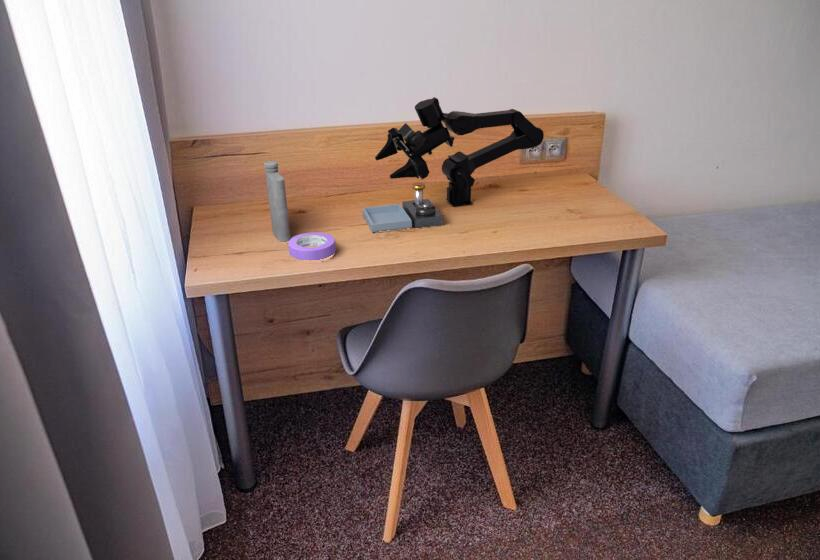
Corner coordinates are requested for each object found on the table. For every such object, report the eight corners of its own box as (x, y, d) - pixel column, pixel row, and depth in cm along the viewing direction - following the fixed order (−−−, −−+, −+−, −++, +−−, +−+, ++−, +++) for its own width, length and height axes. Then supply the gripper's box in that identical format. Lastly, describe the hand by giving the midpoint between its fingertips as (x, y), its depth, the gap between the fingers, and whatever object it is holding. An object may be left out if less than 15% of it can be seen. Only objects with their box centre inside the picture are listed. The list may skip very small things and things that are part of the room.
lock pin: (422, 211, 186) (422, 182, 182) (426, 215, 183) (426, 186, 179) (411, 212, 185) (411, 183, 181) (414, 216, 182) (414, 187, 178)
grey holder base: (428, 208, 188) (428, 191, 186) (442, 225, 176) (442, 207, 174) (402, 211, 186) (402, 193, 184) (415, 228, 174) (415, 210, 172)
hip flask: (291, 243, 167) (283, 170, 157) (276, 245, 166) (267, 172, 156) (283, 221, 180) (275, 153, 171) (269, 223, 179) (260, 154, 170)
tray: (400, 211, 186) (399, 203, 185) (411, 228, 175) (411, 220, 173) (362, 215, 183) (362, 207, 182) (372, 233, 172) (371, 224, 171)
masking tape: (292, 245, 166) (290, 232, 164) (336, 244, 166) (335, 230, 165) (287, 265, 156) (286, 251, 154) (334, 263, 156) (333, 249, 154)
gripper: (406, 102, 178) (359, 130, 177) (439, 137, 168) (389, 167, 166) (416, 130, 187) (371, 157, 186) (447, 165, 177) (400, 194, 175)
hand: (382, 168), depth 178 cm, fingers open, 9 cm apart
